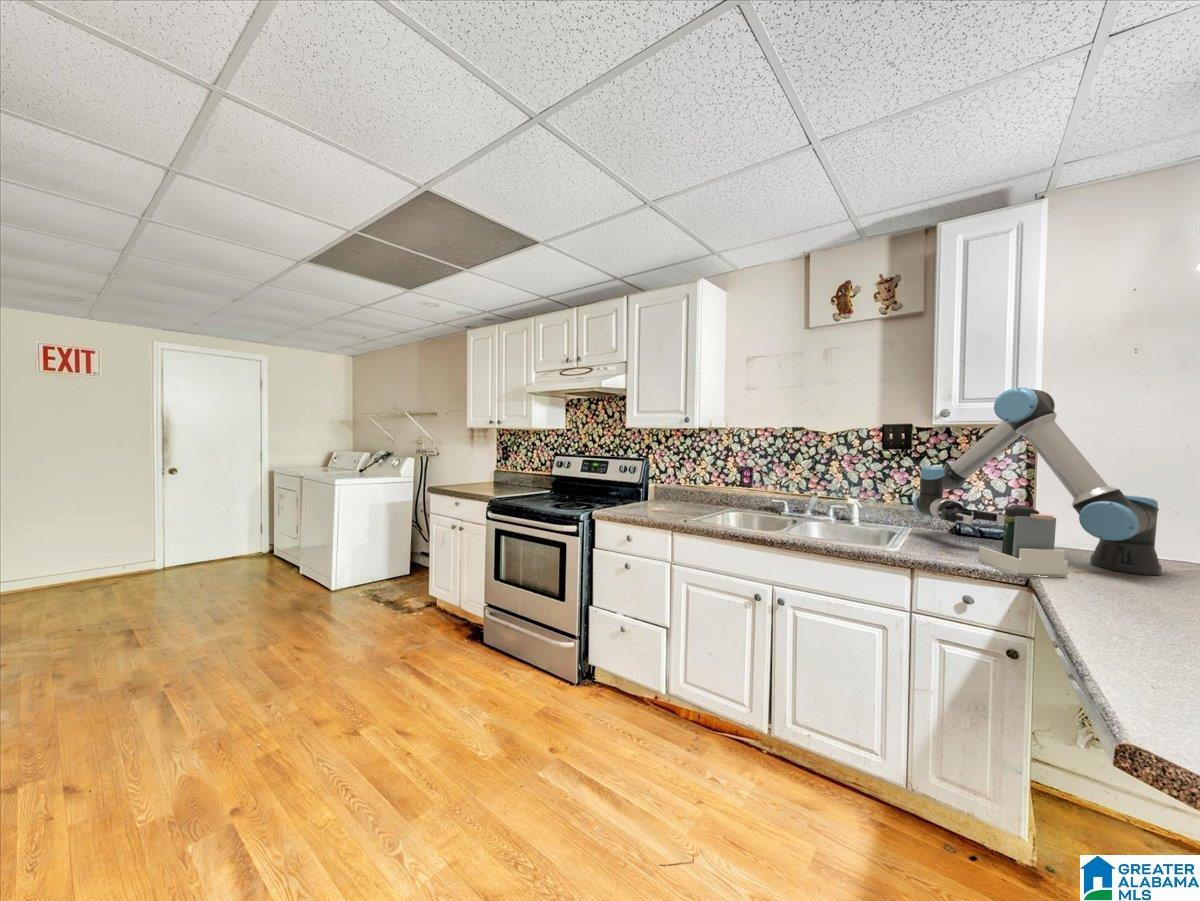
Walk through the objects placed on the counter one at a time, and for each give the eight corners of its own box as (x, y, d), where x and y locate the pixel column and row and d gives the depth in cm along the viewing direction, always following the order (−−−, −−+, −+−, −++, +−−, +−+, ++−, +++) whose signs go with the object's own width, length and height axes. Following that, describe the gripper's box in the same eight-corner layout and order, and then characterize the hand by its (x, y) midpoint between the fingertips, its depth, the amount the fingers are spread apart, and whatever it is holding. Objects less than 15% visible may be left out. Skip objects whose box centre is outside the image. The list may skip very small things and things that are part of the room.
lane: (1022, 563, 152) (1024, 538, 152) (1066, 578, 137) (1068, 550, 137) (978, 561, 153) (979, 537, 152) (1017, 576, 138) (1019, 549, 137)
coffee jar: (1038, 570, 140) (1042, 508, 139) (1003, 565, 144) (1007, 505, 144) (1032, 564, 148) (1036, 505, 147) (999, 559, 152) (1003, 502, 152)
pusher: (1050, 557, 141) (1053, 514, 140) (1062, 561, 137) (1066, 516, 136) (1012, 555, 141) (1015, 512, 141) (1023, 559, 137) (1026, 515, 137)
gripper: (980, 521, 177) (1030, 534, 156) (912, 519, 178) (953, 531, 156) (982, 501, 176) (1032, 511, 155) (914, 499, 177) (954, 509, 156)
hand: (992, 521), depth 156 cm, fingers open, 13 cm apart
